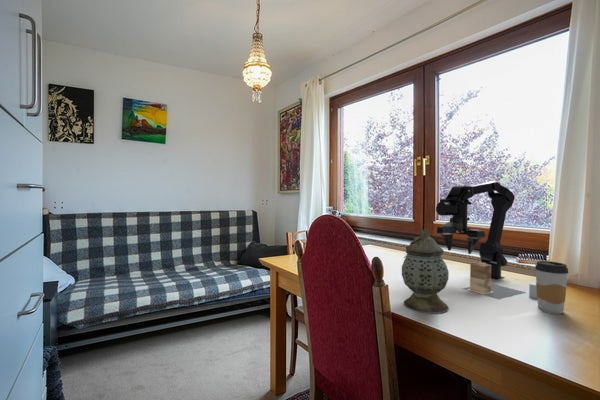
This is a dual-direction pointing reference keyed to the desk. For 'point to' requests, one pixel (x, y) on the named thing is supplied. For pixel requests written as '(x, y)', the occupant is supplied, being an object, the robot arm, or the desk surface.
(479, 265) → the walnut block
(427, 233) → the lantern
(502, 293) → the build mat
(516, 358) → the desk surface
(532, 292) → the block
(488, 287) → the oak block
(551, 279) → the coffee cup
